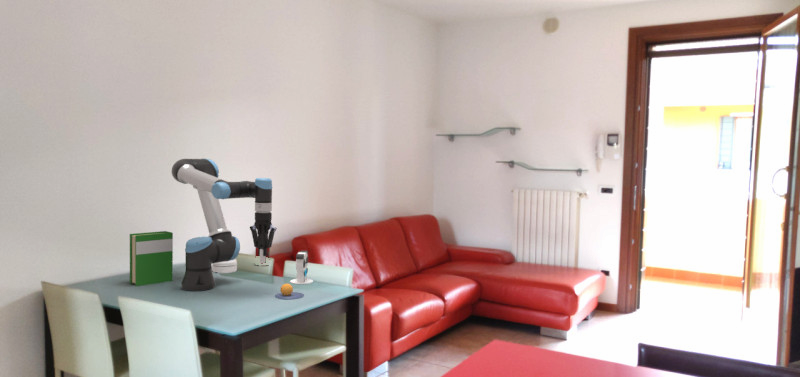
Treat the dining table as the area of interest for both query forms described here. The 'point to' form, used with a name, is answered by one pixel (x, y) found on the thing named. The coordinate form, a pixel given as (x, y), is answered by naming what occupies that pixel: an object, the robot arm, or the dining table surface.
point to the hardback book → (151, 258)
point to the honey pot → (225, 266)
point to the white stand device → (301, 269)
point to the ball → (286, 289)
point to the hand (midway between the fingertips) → (262, 262)
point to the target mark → (289, 296)
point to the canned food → (267, 252)
